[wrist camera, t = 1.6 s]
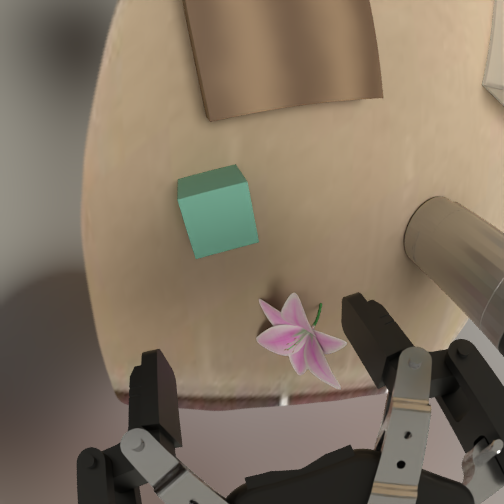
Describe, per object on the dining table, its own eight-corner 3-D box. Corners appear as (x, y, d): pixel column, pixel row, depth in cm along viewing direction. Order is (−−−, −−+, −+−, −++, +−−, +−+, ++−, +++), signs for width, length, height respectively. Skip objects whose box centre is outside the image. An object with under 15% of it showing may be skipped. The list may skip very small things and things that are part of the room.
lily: (288, 244, 32) (264, 314, 25) (379, 293, 32) (378, 366, 25) (247, 306, 40) (222, 367, 33) (324, 343, 40) (312, 405, 33)
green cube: (235, 164, 25) (247, 181, 21) (246, 216, 28) (258, 242, 24) (177, 179, 25) (177, 199, 21) (192, 230, 28) (195, 258, 23)
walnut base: (334, -39, 17) (356, -52, 14) (358, 94, 24) (383, 97, 21) (175, -32, 16) (175, -50, 12) (206, 116, 23) (210, 121, 20)
